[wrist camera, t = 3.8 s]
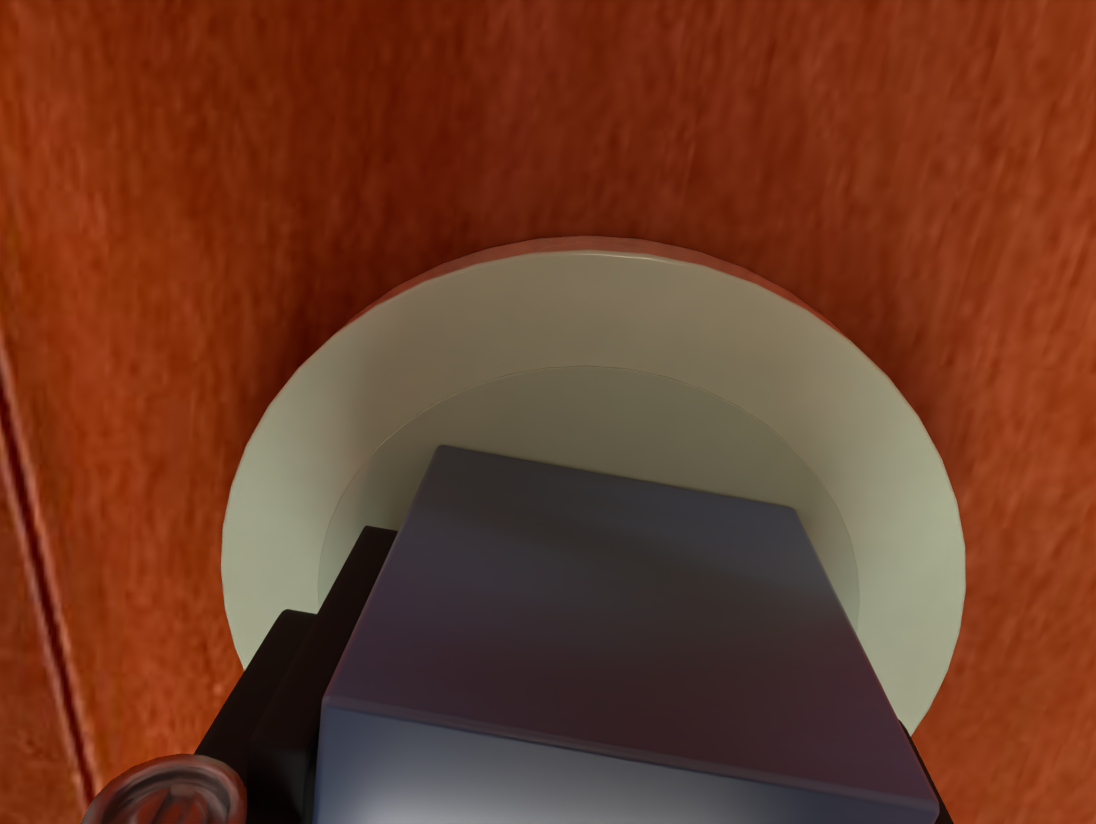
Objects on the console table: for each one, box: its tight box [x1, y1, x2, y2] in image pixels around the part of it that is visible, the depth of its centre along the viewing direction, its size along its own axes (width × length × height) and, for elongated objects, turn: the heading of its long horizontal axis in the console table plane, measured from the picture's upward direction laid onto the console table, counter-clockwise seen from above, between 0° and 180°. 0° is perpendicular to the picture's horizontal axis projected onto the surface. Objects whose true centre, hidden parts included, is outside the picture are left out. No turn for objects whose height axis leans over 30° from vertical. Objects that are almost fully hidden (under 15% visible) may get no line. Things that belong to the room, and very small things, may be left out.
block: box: [312, 445, 939, 824], centre depth 9 cm, size 5×5×5 cm
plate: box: [221, 235, 966, 737], centre depth 12 cm, size 11×11×1 cm
